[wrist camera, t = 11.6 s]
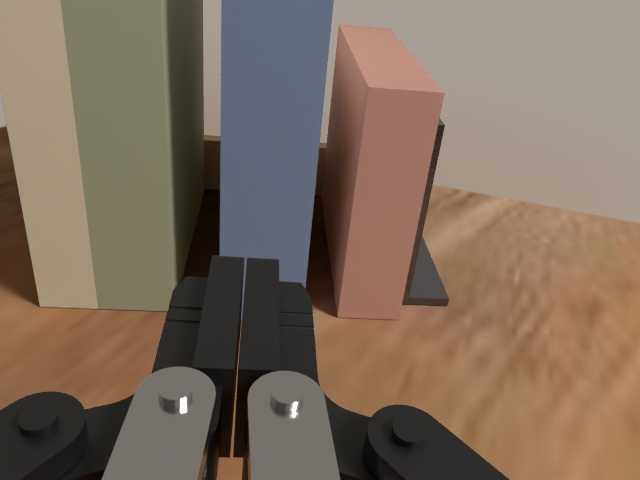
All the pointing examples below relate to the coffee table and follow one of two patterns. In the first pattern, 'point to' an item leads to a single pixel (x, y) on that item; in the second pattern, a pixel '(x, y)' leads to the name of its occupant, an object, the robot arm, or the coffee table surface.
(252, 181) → the blue book
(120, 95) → the book rack
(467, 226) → the coffee table surface
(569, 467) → the coffee table surface
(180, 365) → the robot arm
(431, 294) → the bookend
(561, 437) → the coffee table surface
